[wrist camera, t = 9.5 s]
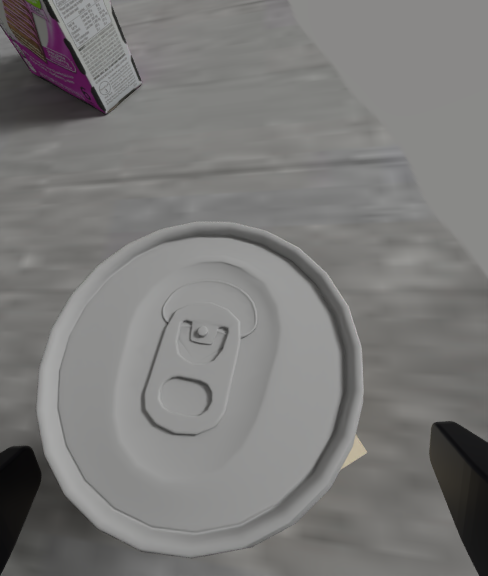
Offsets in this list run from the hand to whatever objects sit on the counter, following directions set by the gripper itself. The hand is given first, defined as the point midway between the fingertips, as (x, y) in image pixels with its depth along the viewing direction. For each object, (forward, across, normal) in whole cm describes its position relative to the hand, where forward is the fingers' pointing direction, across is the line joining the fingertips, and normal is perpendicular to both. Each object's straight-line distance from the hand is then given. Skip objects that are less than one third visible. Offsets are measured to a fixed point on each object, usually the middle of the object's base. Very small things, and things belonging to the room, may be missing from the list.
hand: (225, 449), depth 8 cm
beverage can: (+7, 0, +5) cm, 8 cm away
